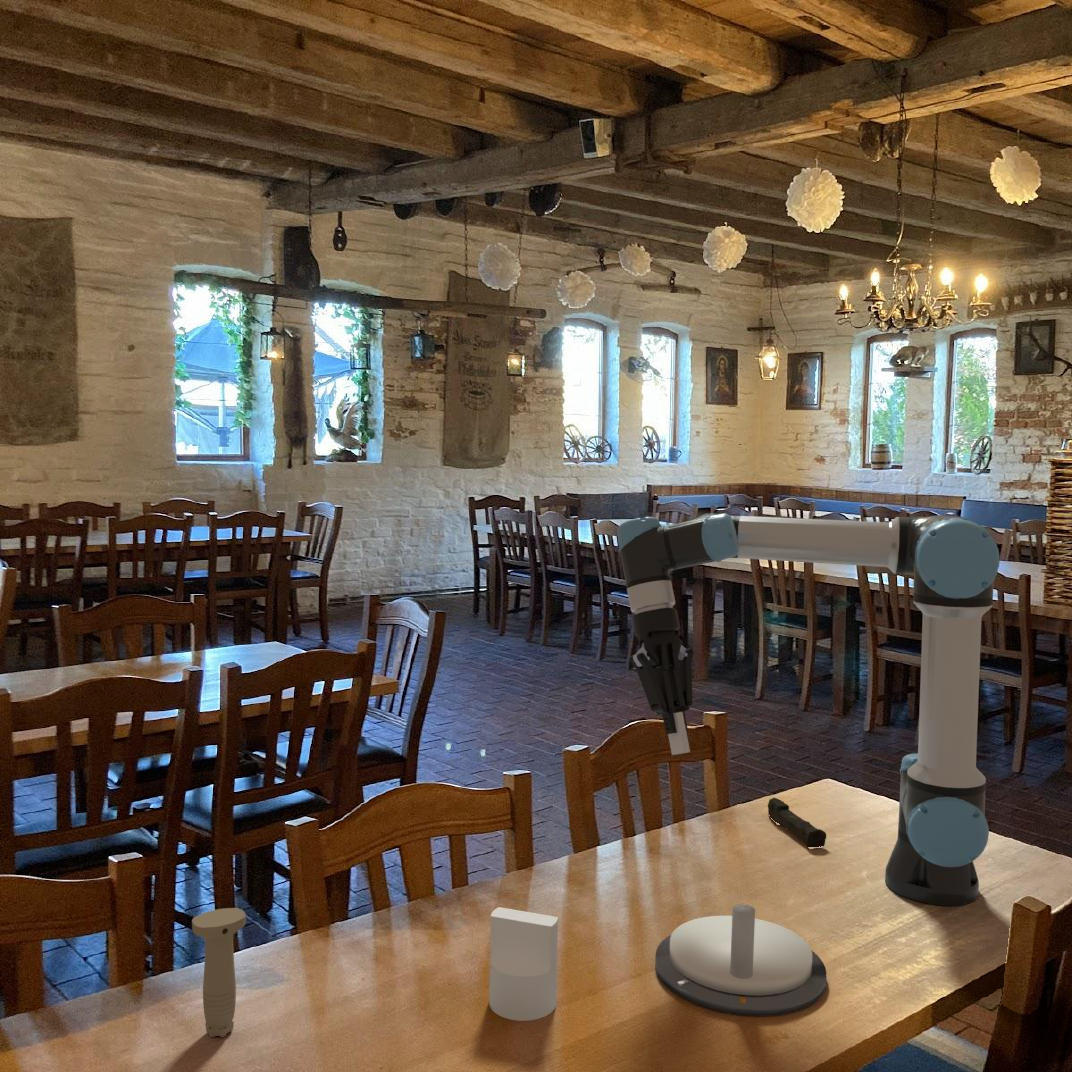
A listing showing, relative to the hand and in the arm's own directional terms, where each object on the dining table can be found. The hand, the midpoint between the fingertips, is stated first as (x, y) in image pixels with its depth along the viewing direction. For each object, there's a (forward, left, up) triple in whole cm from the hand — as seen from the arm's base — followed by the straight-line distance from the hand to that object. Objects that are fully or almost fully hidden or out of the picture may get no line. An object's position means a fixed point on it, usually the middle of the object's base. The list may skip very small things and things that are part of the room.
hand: (681, 753), depth 172 cm
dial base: (-3, +22, -26) cm, 34 cm away
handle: (+68, +30, -26) cm, 79 cm away
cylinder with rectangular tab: (+29, +27, -26) cm, 47 cm away
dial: (-3, +22, -24) cm, 33 cm away
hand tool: (-32, -31, -26) cm, 51 cm away
